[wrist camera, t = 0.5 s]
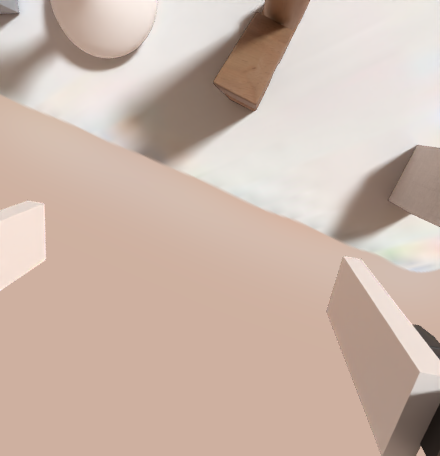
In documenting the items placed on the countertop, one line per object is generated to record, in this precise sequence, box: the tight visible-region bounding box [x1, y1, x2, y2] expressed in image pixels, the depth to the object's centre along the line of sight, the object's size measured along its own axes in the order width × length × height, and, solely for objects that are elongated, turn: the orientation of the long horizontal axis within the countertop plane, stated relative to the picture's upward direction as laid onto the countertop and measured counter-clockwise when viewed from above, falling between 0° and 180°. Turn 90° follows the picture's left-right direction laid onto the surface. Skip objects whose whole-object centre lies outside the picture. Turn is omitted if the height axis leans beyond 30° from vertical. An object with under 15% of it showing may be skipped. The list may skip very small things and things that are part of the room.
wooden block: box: [213, 0, 310, 111], centre depth 26 cm, size 4×11×18 cm, turn 154°
